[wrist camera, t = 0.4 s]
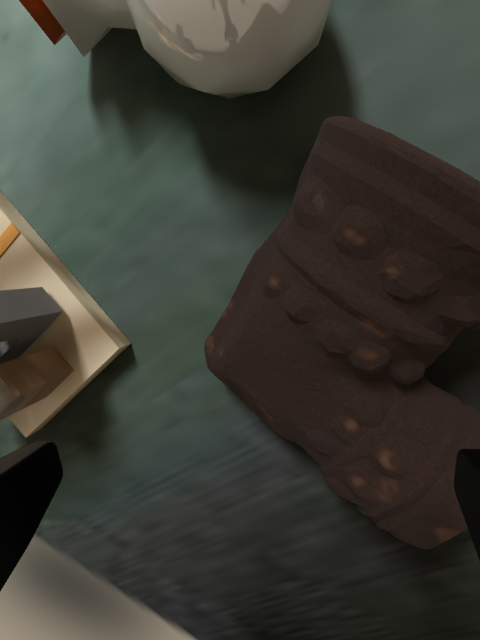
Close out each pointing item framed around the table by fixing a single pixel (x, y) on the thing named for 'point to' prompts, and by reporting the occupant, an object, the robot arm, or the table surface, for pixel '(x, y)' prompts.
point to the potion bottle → (198, 35)
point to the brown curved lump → (364, 326)
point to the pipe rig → (50, 330)
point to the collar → (23, 319)
